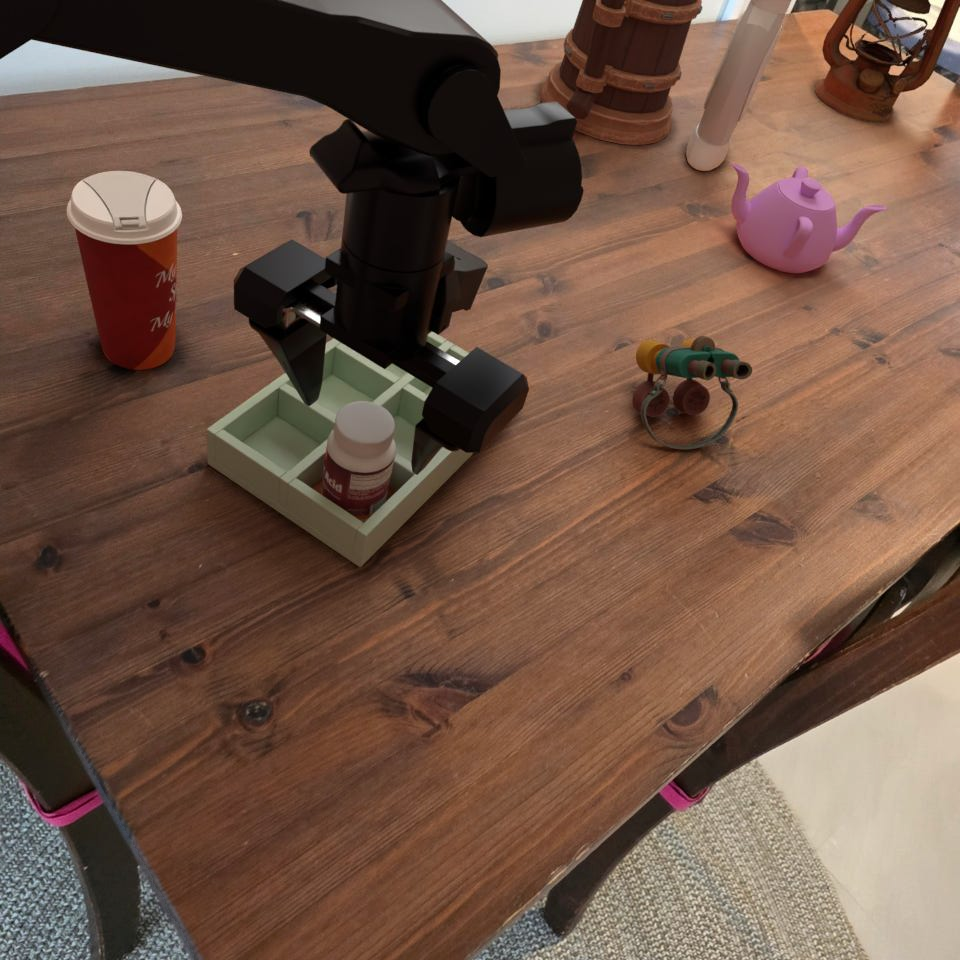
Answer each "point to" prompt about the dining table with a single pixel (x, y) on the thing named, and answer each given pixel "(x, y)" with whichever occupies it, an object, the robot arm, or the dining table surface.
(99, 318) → the paper cup
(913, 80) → the lantern
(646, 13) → the mug
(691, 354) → the binoculars
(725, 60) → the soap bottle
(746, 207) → the teapot
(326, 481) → the pill bottle
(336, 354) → the divided tray
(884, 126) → the dining table surface
